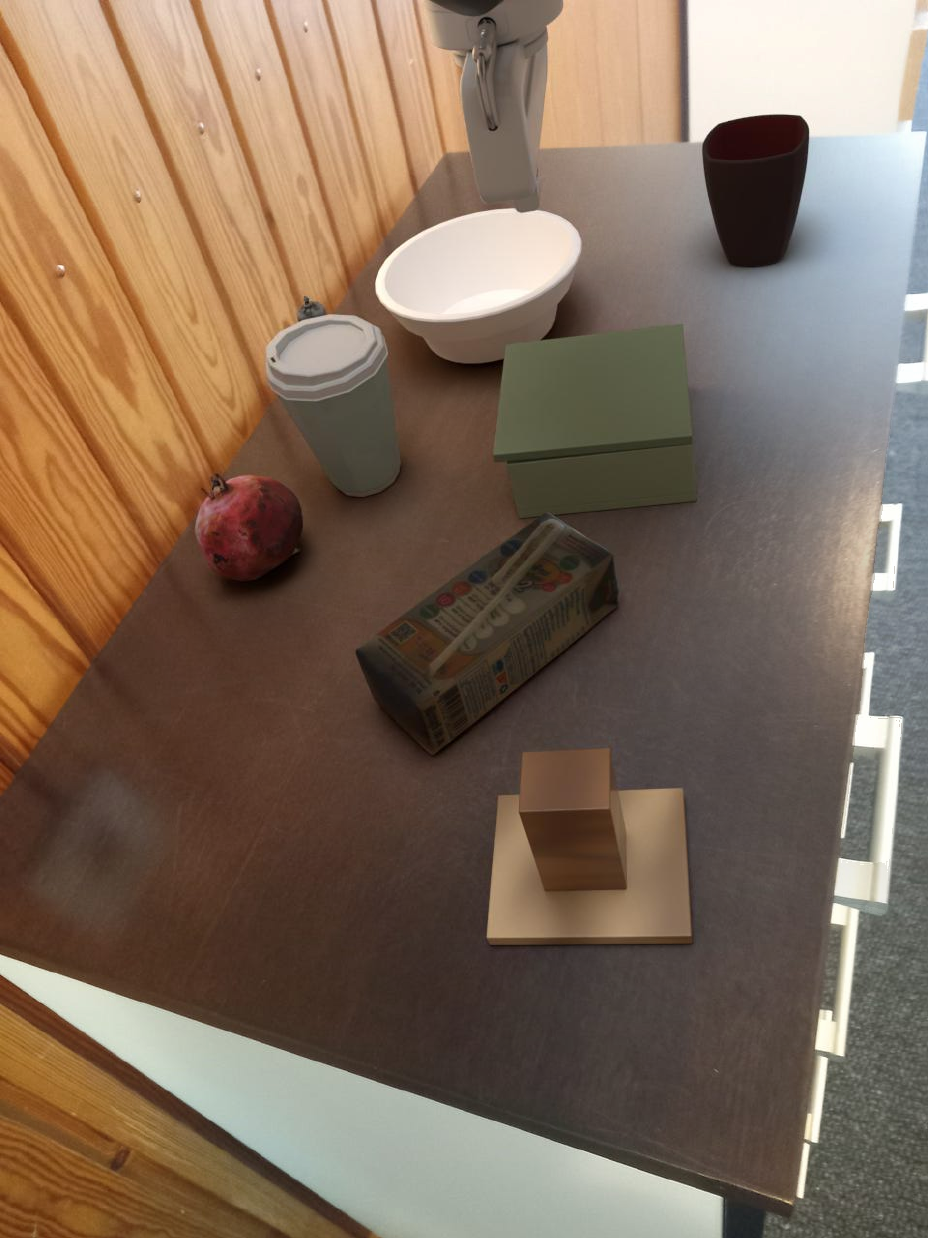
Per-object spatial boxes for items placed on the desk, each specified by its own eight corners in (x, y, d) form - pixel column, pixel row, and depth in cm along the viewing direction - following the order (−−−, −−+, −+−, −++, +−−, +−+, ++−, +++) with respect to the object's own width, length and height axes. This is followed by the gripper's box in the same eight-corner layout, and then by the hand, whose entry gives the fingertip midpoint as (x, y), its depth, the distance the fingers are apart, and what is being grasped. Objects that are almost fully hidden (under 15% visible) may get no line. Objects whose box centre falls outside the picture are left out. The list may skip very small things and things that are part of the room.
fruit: (337, 549, 90) (300, 460, 83) (251, 614, 87) (205, 527, 80) (279, 510, 96) (239, 423, 88) (196, 570, 92) (148, 485, 85)
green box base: (519, 518, 88) (506, 465, 83) (528, 406, 98) (517, 354, 94) (697, 501, 84) (693, 444, 80) (687, 387, 95) (683, 331, 91)
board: (684, 796, 66) (683, 787, 65) (692, 944, 59) (691, 936, 59) (500, 803, 69) (497, 794, 68) (489, 945, 62) (486, 938, 61)
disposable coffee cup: (399, 426, 101) (354, 288, 90) (443, 482, 93) (400, 339, 82) (300, 472, 99) (242, 337, 88) (337, 532, 92) (279, 393, 81)
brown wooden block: (626, 831, 64) (610, 747, 58) (627, 890, 61) (610, 808, 55) (546, 833, 65) (522, 751, 59) (544, 891, 63) (518, 812, 56)
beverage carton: (627, 607, 78) (618, 545, 73) (434, 765, 72) (410, 708, 67) (556, 561, 83) (543, 500, 78) (369, 705, 77) (343, 648, 72)
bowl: (516, 257, 118) (502, 188, 112) (634, 320, 104) (626, 245, 98) (361, 341, 113) (338, 273, 107) (463, 418, 99) (444, 345, 93)
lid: (494, 462, 83) (492, 454, 83) (507, 351, 94) (505, 344, 93) (692, 443, 80) (692, 435, 79) (683, 331, 91) (682, 323, 90)
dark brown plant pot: (701, 279, 106) (695, 165, 98) (718, 212, 115) (714, 102, 106) (802, 275, 103) (805, 156, 94) (812, 206, 112) (815, 91, 103)
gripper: (531, 44, 58) (568, 268, 68) (546, -65, 71) (575, 135, 81) (423, 66, 59) (474, 283, 69) (458, -44, 73) (497, 150, 83)
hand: (529, 202), depth 75 cm, fingers closed
